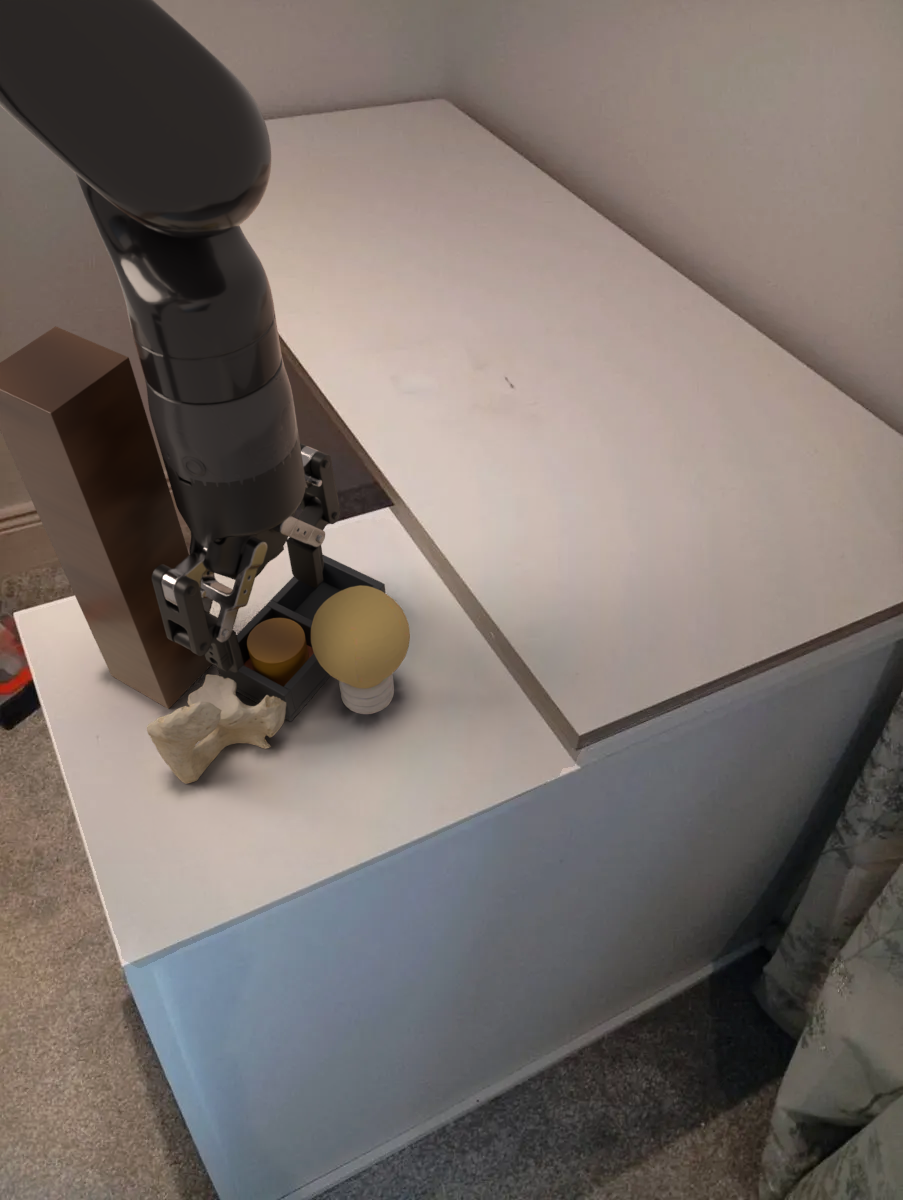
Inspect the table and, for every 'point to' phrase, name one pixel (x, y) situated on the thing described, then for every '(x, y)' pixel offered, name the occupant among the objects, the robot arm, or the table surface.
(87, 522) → the block
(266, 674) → the cylinder
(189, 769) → the bone
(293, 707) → the dark grey open box
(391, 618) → the light bulb
